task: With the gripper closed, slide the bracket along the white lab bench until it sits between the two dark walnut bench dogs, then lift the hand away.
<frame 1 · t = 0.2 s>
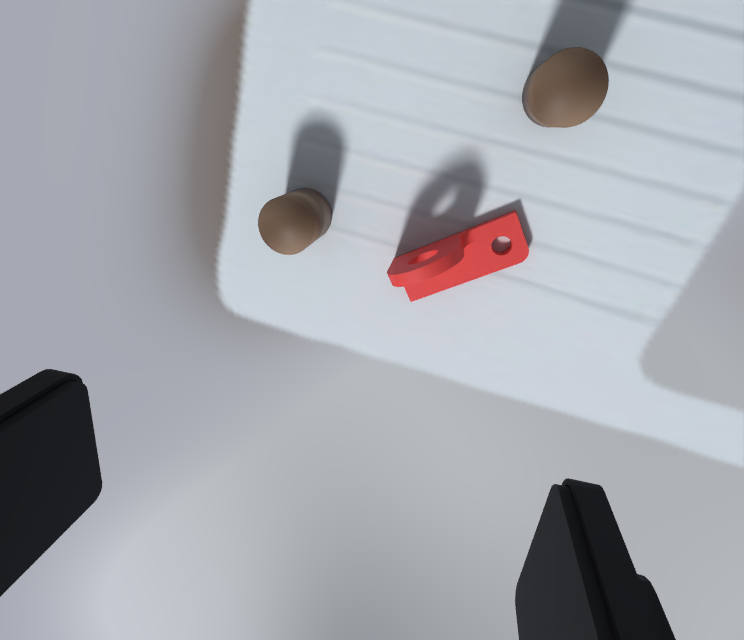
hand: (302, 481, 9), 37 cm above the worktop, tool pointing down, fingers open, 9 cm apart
bracket: (460, 256, 44), on the worktop
bench dogs: (419, 159, 41), on the worktop
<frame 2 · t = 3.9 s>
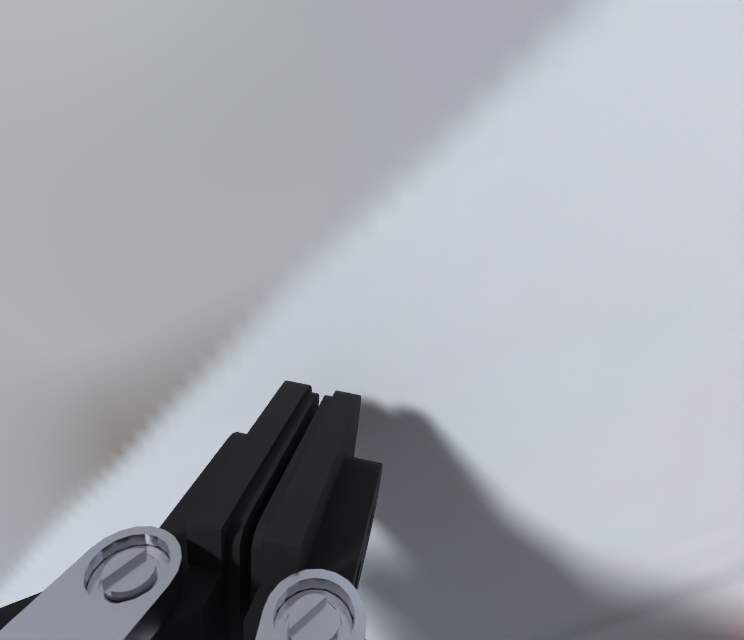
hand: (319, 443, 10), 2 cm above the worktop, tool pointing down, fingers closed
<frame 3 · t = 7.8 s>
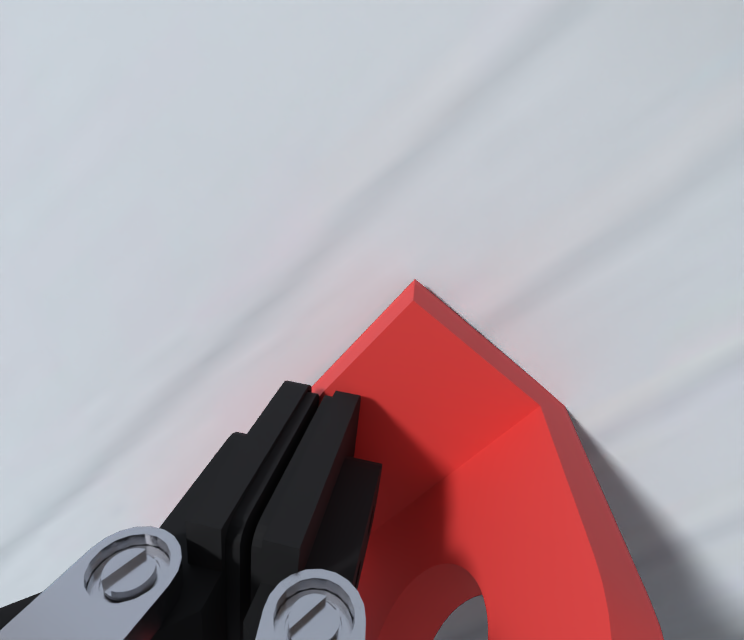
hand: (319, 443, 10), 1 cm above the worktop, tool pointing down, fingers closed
bracket: (330, 482, 13), on the worktop, touching gripper
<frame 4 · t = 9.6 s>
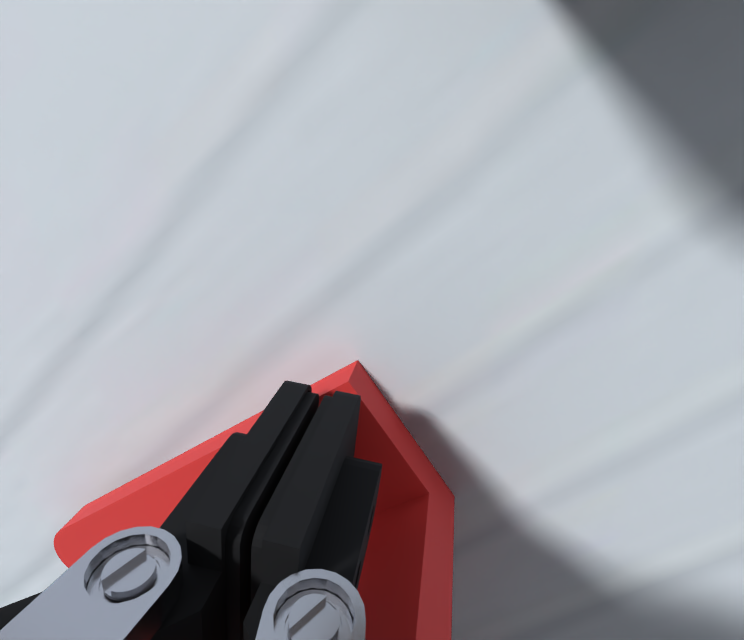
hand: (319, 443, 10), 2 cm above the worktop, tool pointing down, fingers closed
bracket: (242, 499, 14), on the worktop
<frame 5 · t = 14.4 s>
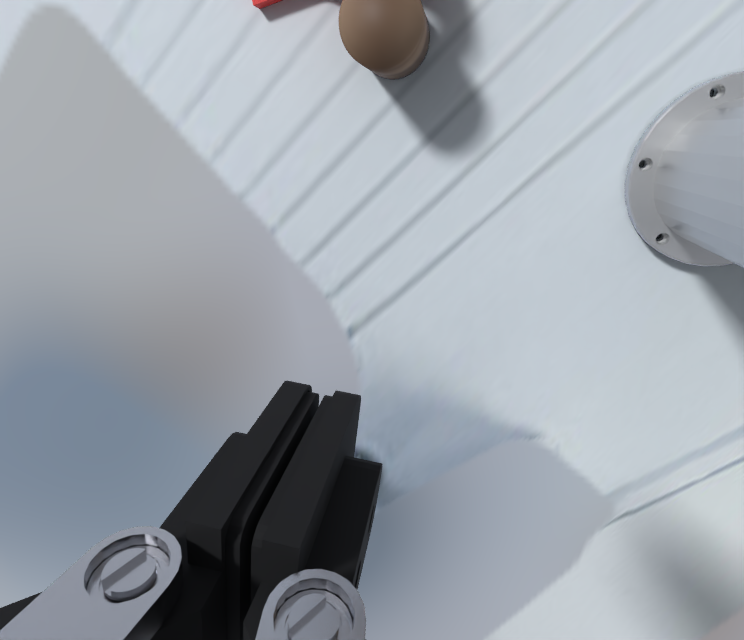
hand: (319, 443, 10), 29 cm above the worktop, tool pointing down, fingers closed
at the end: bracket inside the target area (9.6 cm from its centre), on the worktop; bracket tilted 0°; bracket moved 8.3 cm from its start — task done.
